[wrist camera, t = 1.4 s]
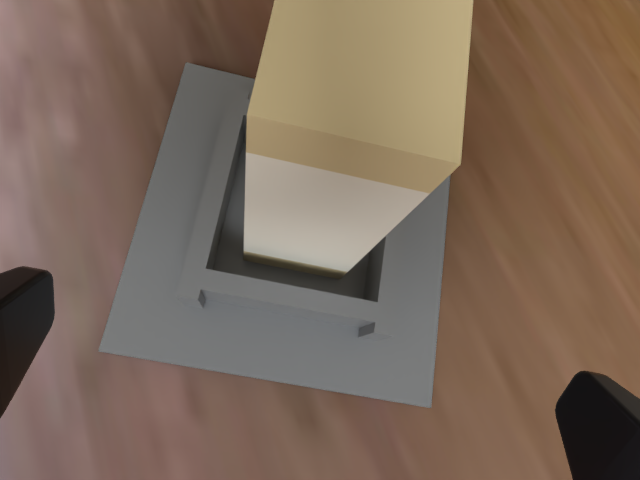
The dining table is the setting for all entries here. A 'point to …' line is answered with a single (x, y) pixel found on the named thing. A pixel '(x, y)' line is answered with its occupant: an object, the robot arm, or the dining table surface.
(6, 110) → the dining table surface
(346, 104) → the white tall block
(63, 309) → the dining table surface
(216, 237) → the grey square socket base
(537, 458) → the dining table surface
